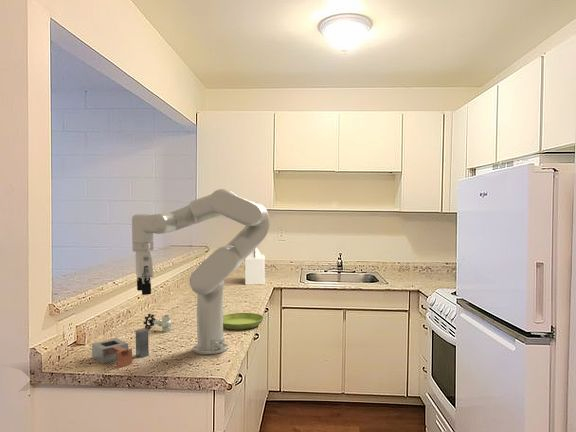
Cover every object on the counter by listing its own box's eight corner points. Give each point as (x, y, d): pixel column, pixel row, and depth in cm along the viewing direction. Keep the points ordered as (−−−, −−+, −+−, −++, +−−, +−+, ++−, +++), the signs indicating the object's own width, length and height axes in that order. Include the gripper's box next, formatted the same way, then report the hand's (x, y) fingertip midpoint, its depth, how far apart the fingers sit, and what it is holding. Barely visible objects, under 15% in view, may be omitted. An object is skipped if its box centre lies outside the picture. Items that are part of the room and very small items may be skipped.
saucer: (261, 318, 213) (261, 311, 213) (266, 330, 192) (266, 322, 192) (217, 320, 209) (217, 313, 209) (217, 332, 189) (217, 325, 189)
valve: (175, 329, 193) (153, 326, 198) (175, 314, 193) (153, 312, 198) (165, 333, 187) (143, 330, 192) (165, 318, 187) (143, 315, 192)
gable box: (246, 279, 323) (246, 241, 322) (265, 279, 324) (264, 240, 323) (245, 285, 301) (244, 243, 300) (264, 284, 301) (264, 243, 301)
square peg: (148, 355, 160) (148, 330, 159) (140, 357, 157) (139, 332, 157) (144, 353, 162) (143, 328, 162) (135, 355, 160) (135, 330, 159)
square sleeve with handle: (92, 357, 157) (92, 343, 157) (117, 351, 164) (116, 338, 164) (111, 369, 146) (111, 354, 146) (137, 362, 152) (137, 347, 152)
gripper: (158, 248, 162) (159, 295, 162) (148, 244, 177) (149, 287, 177) (136, 249, 158) (137, 297, 159) (128, 245, 173) (129, 289, 174)
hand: (143, 292), depth 168 cm, fingers open, 9 cm apart
